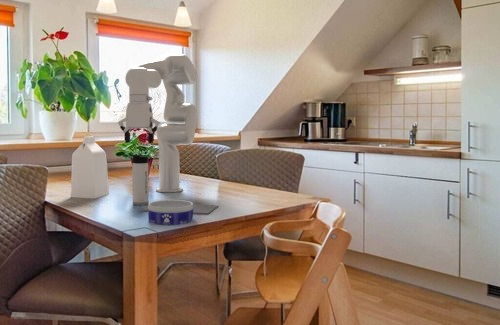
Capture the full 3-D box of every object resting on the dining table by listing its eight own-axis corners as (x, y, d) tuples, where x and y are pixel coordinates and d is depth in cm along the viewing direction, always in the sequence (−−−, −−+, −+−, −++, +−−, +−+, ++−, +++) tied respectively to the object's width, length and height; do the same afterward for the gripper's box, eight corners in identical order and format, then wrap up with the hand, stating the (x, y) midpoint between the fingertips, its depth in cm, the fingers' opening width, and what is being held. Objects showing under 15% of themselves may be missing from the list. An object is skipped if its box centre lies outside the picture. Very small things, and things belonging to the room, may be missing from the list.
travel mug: (131, 202, 193) (130, 154, 191) (147, 202, 195) (146, 153, 193) (132, 205, 187) (132, 155, 185) (149, 204, 190) (149, 155, 188)
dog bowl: (194, 216, 171) (194, 199, 170) (191, 226, 156) (191, 207, 155) (152, 215, 170) (152, 199, 170) (144, 225, 155) (144, 207, 154)
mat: (155, 203, 192) (155, 202, 192) (218, 206, 187) (218, 205, 187) (140, 211, 177) (140, 209, 177) (207, 214, 172) (207, 213, 172)
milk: (95, 198, 202) (94, 137, 200) (71, 197, 204) (69, 136, 202) (109, 193, 214) (108, 136, 211) (85, 192, 216) (84, 135, 214)
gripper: (163, 100, 189) (163, 143, 191) (122, 100, 192) (123, 142, 194) (156, 99, 182) (156, 144, 183) (114, 99, 185) (114, 142, 186)
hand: (139, 143), depth 188 cm, fingers open, 9 cm apart
